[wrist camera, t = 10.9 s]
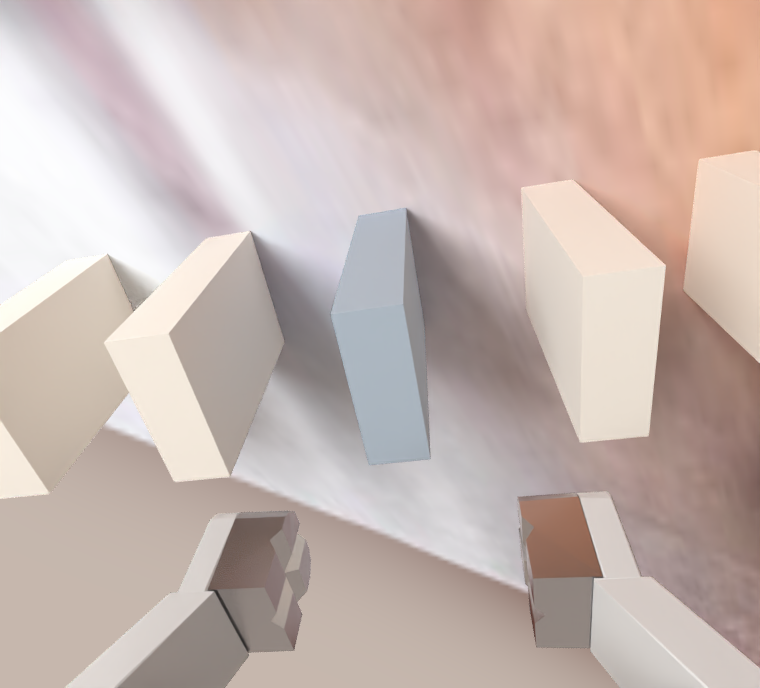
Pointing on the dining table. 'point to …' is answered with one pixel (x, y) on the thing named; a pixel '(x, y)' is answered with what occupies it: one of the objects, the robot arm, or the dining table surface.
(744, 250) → the domino
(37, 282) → the domino
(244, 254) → the domino
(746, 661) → the robot arm
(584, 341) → the domino
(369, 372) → the domino
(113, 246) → the dining table surface
